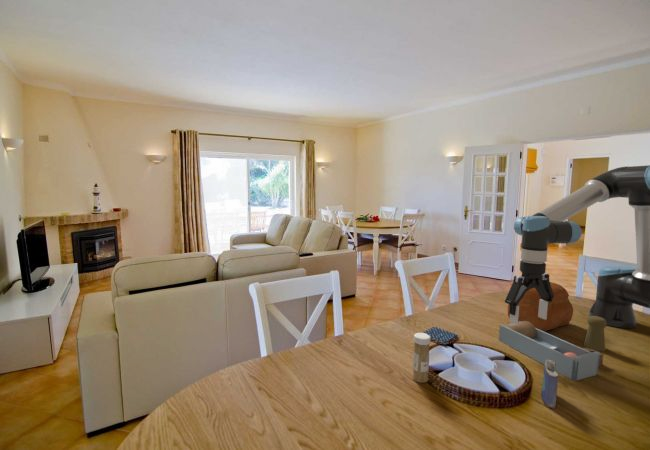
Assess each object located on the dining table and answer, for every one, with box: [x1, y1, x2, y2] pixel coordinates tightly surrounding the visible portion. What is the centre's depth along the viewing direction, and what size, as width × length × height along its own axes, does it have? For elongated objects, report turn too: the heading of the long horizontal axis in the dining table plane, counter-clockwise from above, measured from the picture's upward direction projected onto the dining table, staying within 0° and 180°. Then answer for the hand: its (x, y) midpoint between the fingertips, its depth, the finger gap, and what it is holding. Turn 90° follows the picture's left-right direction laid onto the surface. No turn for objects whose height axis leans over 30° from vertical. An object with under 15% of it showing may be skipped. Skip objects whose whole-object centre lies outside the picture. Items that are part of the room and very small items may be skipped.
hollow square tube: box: [586, 349, 604, 366], centre depth 107 cm, size 3×3×4 cm
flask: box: [540, 359, 559, 410], centre depth 89 cm, size 9×3×11 cm, turn 151°
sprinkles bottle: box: [412, 332, 431, 384], centre depth 98 cm, size 5×5×14 cm
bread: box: [507, 281, 574, 332], centre depth 138 cm, size 18×22×17 cm
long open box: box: [498, 321, 601, 382], centre depth 111 cm, size 10×27×8 cm, turn 20°
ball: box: [564, 352, 577, 358], centre depth 103 cm, size 5×5×5 cm
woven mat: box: [422, 326, 460, 345], centre depth 125 cm, size 10×11×2 cm
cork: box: [583, 316, 608, 352], centre depth 118 cm, size 6×6×11 cm
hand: (528, 320), depth 117 cm, fingers open, 13 cm apart
